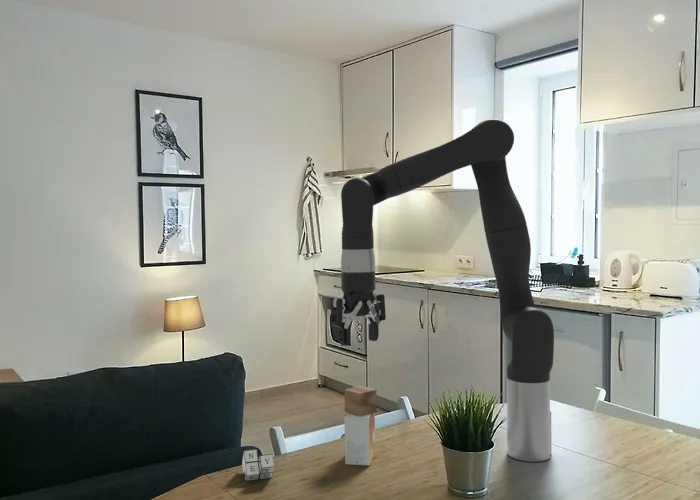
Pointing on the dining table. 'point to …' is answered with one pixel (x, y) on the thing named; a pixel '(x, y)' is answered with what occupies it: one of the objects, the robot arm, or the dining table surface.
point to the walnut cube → (360, 401)
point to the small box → (359, 439)
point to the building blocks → (257, 465)
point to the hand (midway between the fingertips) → (359, 343)
